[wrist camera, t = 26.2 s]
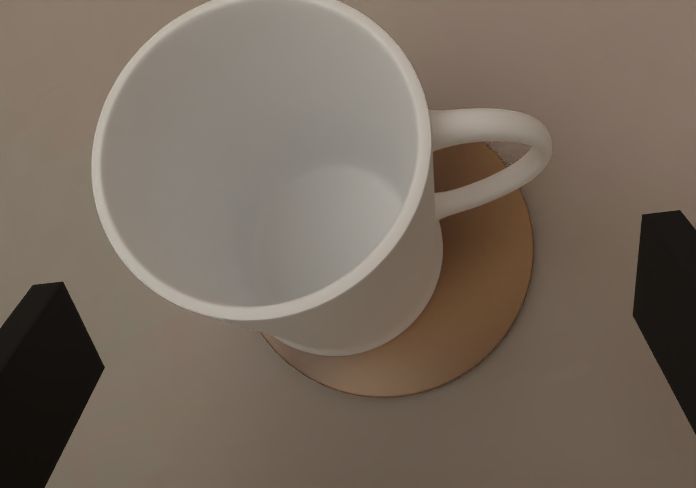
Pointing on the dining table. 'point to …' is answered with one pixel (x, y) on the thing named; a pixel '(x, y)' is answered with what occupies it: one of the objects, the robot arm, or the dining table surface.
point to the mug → (288, 171)
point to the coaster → (446, 294)
